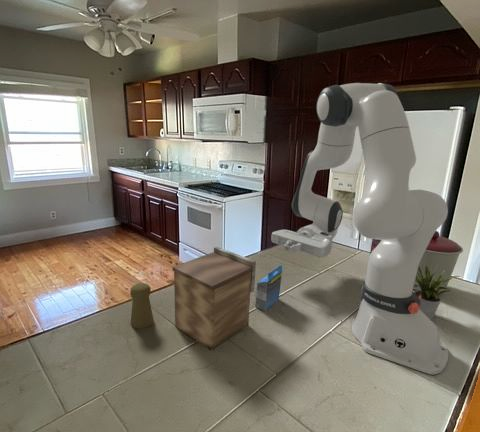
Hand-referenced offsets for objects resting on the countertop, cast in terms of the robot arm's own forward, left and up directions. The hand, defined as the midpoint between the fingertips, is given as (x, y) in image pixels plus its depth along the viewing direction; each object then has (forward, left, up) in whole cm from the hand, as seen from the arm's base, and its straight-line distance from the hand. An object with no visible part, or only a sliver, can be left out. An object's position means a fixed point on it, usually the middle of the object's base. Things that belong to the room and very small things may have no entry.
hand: (287, 248), depth 100 cm
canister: (-33, -39, -16) cm, 54 cm away
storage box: (+4, +29, -16) cm, 33 cm away
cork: (+19, +41, -16) cm, 48 cm away
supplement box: (-16, -44, -16) cm, 49 cm away
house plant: (-36, -19, -16) cm, 44 cm away
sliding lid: (+4, +29, -6) cm, 29 cm away
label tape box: (0, +9, -16) cm, 18 cm away
